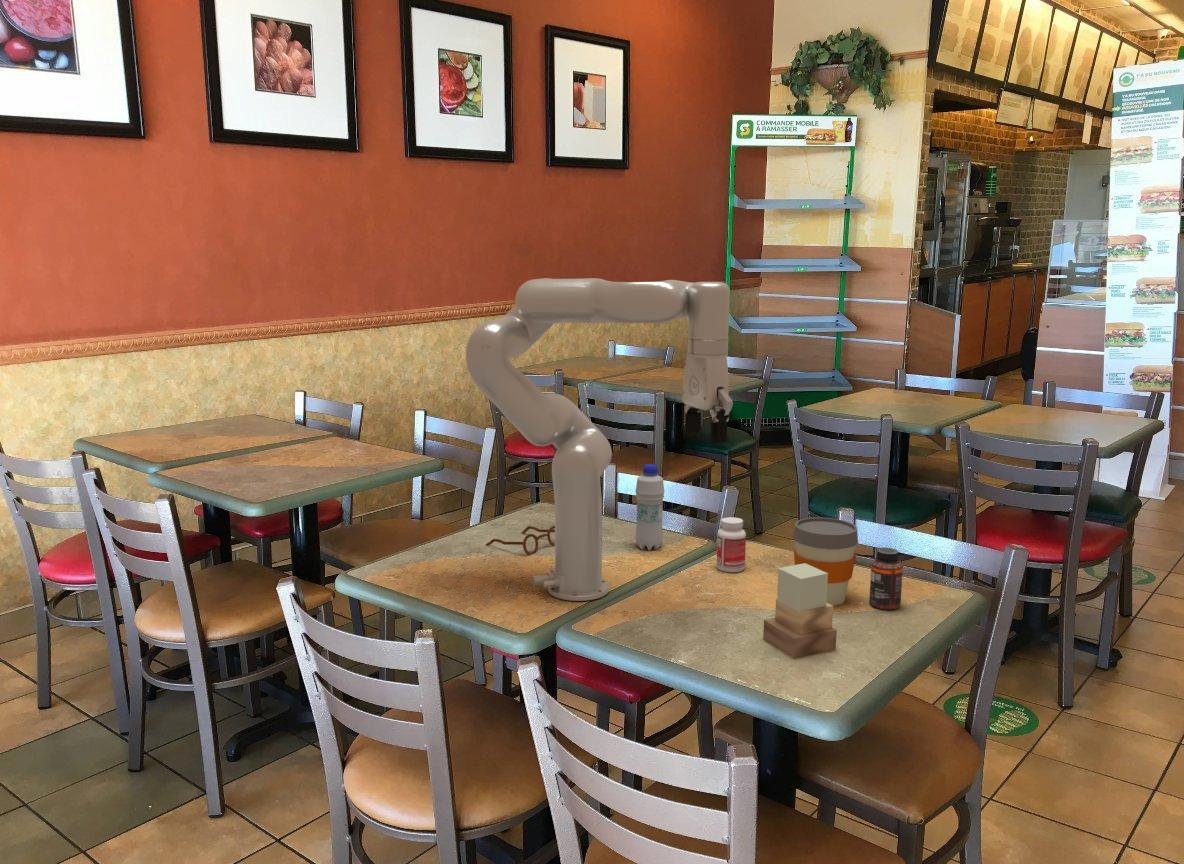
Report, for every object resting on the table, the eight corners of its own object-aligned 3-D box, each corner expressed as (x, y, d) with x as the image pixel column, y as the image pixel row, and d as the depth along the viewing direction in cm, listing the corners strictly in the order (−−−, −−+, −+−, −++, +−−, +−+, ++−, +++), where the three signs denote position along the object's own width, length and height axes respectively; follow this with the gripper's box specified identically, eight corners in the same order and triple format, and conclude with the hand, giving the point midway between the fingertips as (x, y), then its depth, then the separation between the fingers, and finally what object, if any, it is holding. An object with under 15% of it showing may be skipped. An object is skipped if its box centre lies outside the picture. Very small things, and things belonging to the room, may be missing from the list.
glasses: (526, 558, 213) (525, 537, 212) (484, 547, 221) (484, 526, 220) (563, 544, 223) (563, 524, 222) (522, 534, 231) (522, 514, 230)
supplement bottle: (900, 601, 187) (904, 547, 185) (900, 612, 182) (904, 556, 179) (869, 598, 189) (873, 544, 187) (867, 608, 184) (871, 553, 181)
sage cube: (799, 612, 162) (800, 579, 160) (777, 600, 167) (778, 568, 166) (826, 606, 164) (828, 573, 163) (803, 594, 170) (805, 563, 168)
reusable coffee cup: (815, 613, 181) (819, 538, 178) (777, 591, 192) (781, 521, 189) (867, 603, 186) (872, 531, 183) (828, 583, 197) (831, 514, 194)
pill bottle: (750, 568, 206) (752, 520, 204) (733, 575, 202) (734, 525, 200) (727, 561, 210) (729, 514, 208) (710, 568, 206) (712, 519, 204)
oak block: (801, 634, 162) (802, 612, 161) (774, 620, 168) (775, 599, 167) (831, 627, 165) (833, 605, 165) (805, 613, 171) (806, 592, 171)
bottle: (664, 551, 217) (665, 467, 213) (635, 551, 217) (636, 467, 213) (662, 542, 223) (664, 460, 220) (634, 542, 223) (635, 460, 220)
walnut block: (793, 660, 161) (794, 638, 160) (763, 640, 169) (763, 619, 168) (835, 651, 165) (836, 630, 164) (803, 632, 173) (804, 612, 172)
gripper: (668, 344, 183) (666, 430, 186) (713, 354, 167) (710, 448, 171) (702, 343, 186) (700, 428, 189) (749, 352, 170) (746, 445, 173)
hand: (705, 437), depth 180 cm, fingers open, 9 cm apart
